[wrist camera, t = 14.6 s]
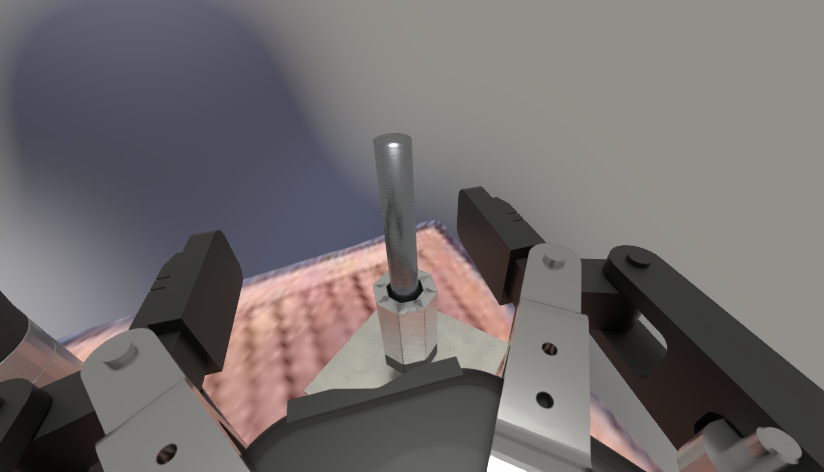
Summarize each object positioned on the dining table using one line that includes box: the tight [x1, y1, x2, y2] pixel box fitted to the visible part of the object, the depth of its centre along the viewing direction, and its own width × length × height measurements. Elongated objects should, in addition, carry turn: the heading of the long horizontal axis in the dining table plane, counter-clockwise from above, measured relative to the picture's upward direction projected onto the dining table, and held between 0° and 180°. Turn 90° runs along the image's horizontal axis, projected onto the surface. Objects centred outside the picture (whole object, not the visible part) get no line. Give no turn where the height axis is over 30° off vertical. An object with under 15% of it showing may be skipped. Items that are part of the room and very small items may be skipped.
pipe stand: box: [304, 133, 508, 396], centre depth 31 cm, size 18×18×30 cm
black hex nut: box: [385, 344, 437, 374], centre depth 36 cm, size 6×6×2 cm
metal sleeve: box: [373, 269, 438, 365], centre depth 33 cm, size 6×6×8 cm
